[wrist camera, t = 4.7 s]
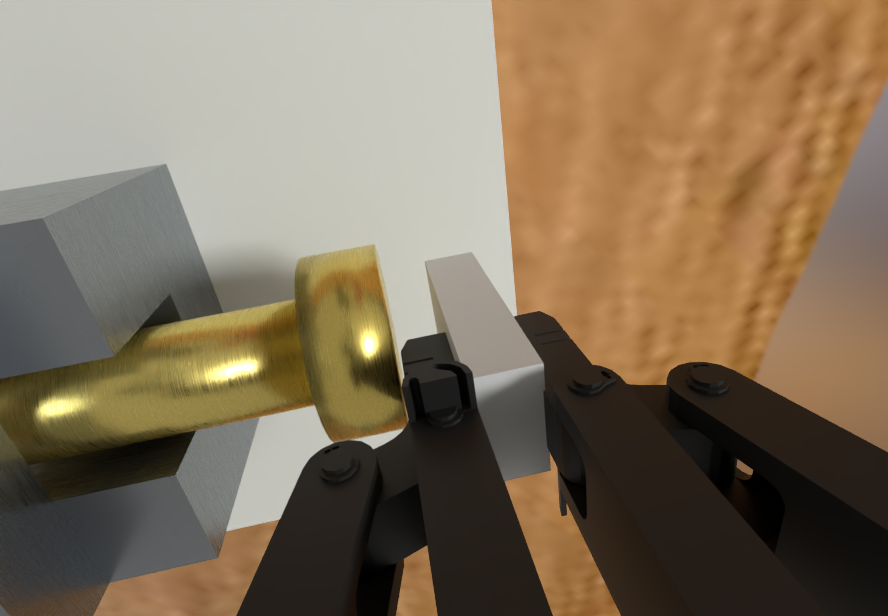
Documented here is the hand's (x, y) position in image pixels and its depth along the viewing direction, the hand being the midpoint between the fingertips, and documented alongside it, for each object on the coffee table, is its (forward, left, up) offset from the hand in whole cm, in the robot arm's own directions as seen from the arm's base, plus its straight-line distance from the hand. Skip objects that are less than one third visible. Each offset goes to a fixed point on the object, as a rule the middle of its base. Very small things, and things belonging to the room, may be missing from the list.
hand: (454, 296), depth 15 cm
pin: (0, -9, -1) cm, 9 cm away
